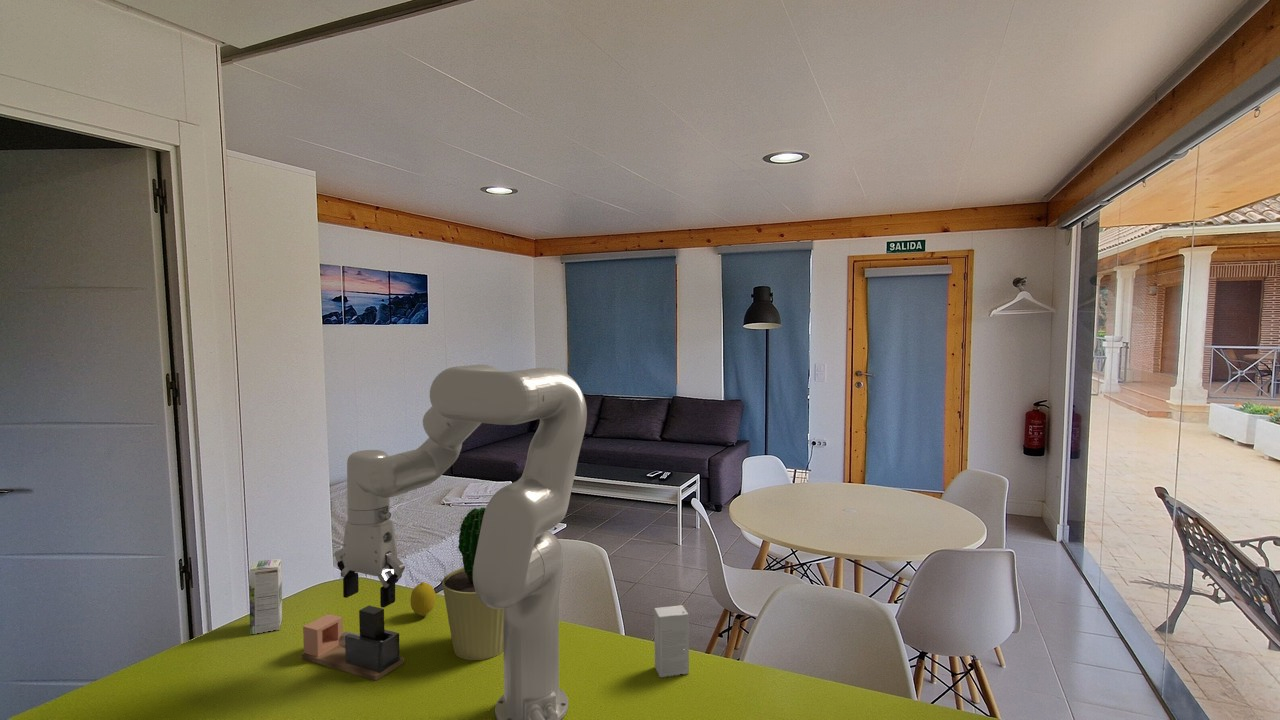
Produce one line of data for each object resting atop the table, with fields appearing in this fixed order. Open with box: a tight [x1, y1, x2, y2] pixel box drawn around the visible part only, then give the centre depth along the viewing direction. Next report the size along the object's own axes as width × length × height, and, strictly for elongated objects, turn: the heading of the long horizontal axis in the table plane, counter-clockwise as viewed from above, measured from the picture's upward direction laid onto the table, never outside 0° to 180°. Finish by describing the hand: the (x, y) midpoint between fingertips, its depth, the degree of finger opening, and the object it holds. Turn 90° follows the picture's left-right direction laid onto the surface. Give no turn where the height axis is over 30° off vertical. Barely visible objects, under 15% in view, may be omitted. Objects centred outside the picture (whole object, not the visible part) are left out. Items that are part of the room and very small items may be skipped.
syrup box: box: [248, 558, 283, 636], centre depth 139 cm, size 6×6×14 cm
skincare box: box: [653, 604, 690, 678], centre depth 122 cm, size 6×4×12 cm
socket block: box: [302, 613, 344, 657], centre depth 129 cm, size 4×6×6 cm, turn 157°
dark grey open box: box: [345, 628, 401, 673], centre depth 123 cm, size 9×5×6 cm, turn 67°
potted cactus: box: [441, 506, 504, 661], centre depth 130 cm, size 15×15×30 cm
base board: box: [301, 645, 404, 681], centre depth 126 cm, size 20×7×1 cm, turn 67°
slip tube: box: [338, 605, 385, 648], centre depth 124 cm, size 11×3×9 cm, turn 67°
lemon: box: [409, 581, 437, 617], centre depth 145 cm, size 6×6×8 cm
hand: (369, 599), depth 123 cm, fingers open, 9 cm apart
